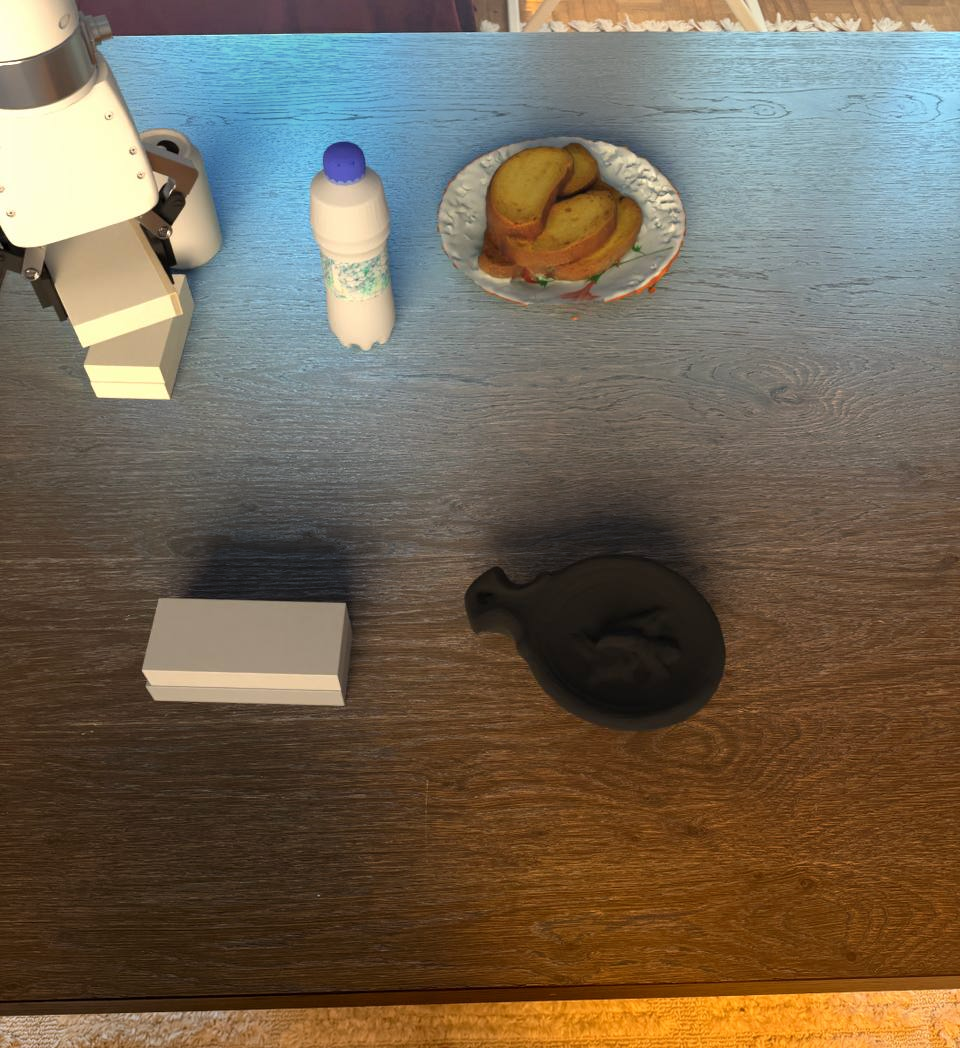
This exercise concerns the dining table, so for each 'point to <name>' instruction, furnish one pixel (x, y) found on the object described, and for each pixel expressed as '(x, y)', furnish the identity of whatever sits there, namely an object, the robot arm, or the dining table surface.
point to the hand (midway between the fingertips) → (112, 289)
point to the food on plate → (562, 222)
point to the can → (189, 204)
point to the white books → (142, 355)
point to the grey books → (249, 652)
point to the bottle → (353, 246)
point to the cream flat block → (111, 282)
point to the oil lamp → (609, 638)
